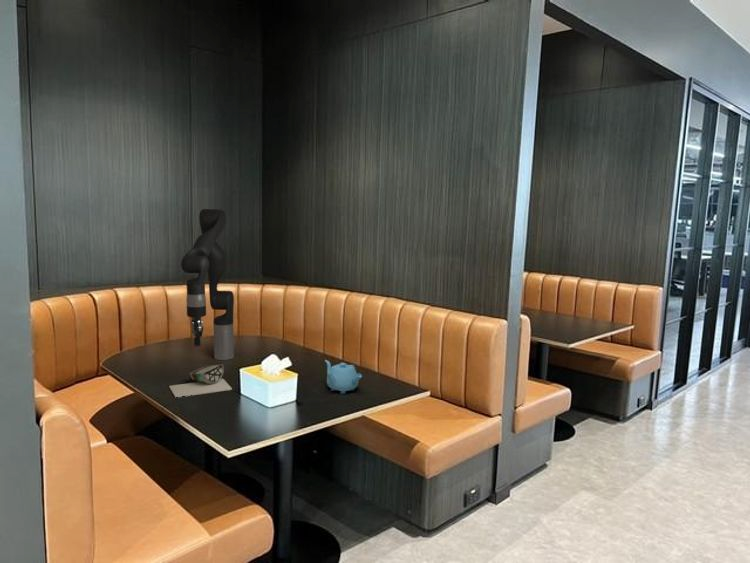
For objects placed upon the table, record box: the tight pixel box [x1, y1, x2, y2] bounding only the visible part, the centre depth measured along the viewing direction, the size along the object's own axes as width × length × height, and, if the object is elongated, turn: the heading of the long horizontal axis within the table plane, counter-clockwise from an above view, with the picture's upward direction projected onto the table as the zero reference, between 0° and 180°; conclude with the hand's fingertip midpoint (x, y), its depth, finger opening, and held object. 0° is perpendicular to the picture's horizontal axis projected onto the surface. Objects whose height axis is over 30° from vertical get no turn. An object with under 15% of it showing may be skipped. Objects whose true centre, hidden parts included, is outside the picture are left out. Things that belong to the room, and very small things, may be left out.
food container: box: [188, 363, 225, 384], centre depth 230 cm, size 12×6×10 cm
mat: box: [168, 378, 233, 398], centre depth 224 cm, size 14×22×1 cm, turn 120°
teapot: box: [324, 359, 363, 395], centre depth 225 cm, size 15×14×11 cm
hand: (197, 345), depth 225 cm, fingers closed
